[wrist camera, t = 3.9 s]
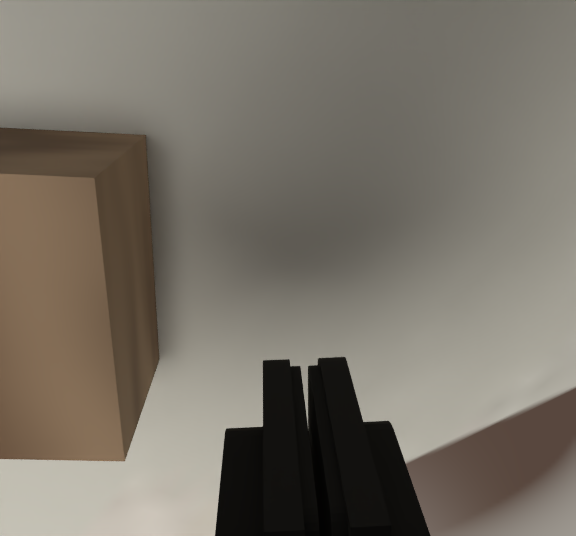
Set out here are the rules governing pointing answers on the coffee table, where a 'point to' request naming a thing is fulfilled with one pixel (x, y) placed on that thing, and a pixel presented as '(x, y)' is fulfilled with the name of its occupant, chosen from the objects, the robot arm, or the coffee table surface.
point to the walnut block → (74, 293)
